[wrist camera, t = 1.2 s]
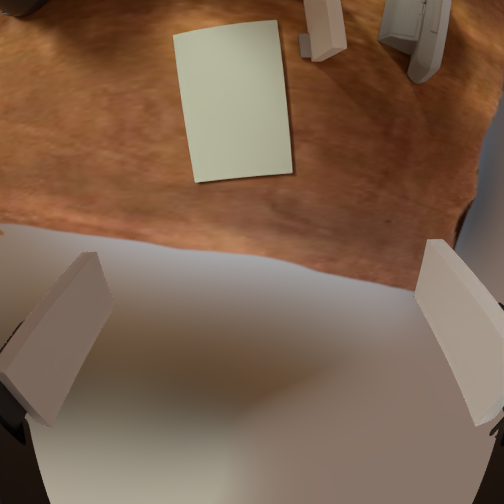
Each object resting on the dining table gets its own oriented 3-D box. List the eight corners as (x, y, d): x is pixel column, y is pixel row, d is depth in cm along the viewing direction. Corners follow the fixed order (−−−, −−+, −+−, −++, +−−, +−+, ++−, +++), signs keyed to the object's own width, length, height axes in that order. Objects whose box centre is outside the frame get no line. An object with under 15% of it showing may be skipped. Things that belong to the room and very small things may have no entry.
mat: (174, 35, 29) (172, 35, 28) (276, 20, 27) (276, 19, 27) (196, 181, 38) (195, 182, 37) (292, 171, 37) (292, 173, 36)
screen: (288, -25, 24) (297, -69, 14) (319, -25, 24) (339, -67, 13) (301, 62, 30) (317, 47, 19) (331, 61, 30) (361, 48, 19)
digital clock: (415, 90, 30) (461, 95, 21) (354, 52, 29) (387, 39, 19) (453, 4, 23) (499, -9, 13) (398, -35, 21) (434, -63, 12)
